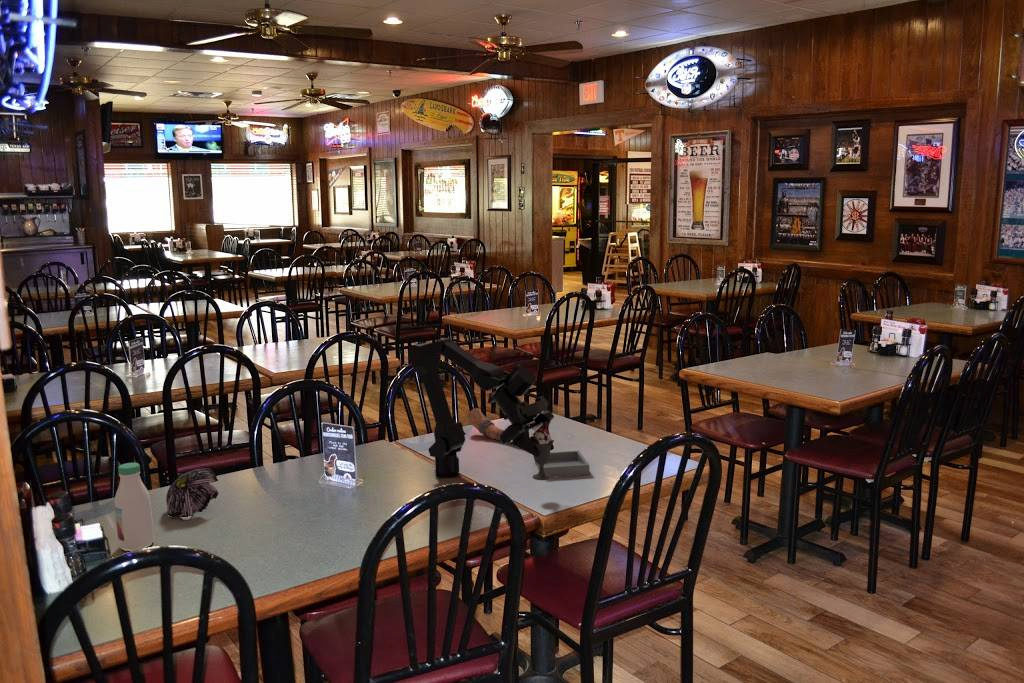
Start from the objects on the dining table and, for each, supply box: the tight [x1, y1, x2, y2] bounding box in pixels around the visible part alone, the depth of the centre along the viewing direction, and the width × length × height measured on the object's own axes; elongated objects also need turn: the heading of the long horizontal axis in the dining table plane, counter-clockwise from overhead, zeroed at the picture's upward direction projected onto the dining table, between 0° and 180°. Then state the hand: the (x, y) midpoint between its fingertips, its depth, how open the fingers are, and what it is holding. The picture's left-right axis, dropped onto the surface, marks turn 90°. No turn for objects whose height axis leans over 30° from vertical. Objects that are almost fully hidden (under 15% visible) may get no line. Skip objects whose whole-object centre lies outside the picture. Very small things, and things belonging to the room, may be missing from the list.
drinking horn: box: [465, 407, 513, 442], centre depth 274 cm, size 5×29×10 cm, turn 46°
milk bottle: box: [114, 462, 155, 550], centre depth 195 cm, size 8×8×20 cm
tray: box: [534, 450, 590, 478], centre depth 246 cm, size 14×14×3 cm
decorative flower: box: [165, 467, 219, 518], centre depth 218 cm, size 15×12×15 cm
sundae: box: [529, 422, 555, 481], centre depth 221 cm, size 7×7×15 cm
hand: (545, 452), depth 220 cm, fingers closed on sundae, 6 cm apart
